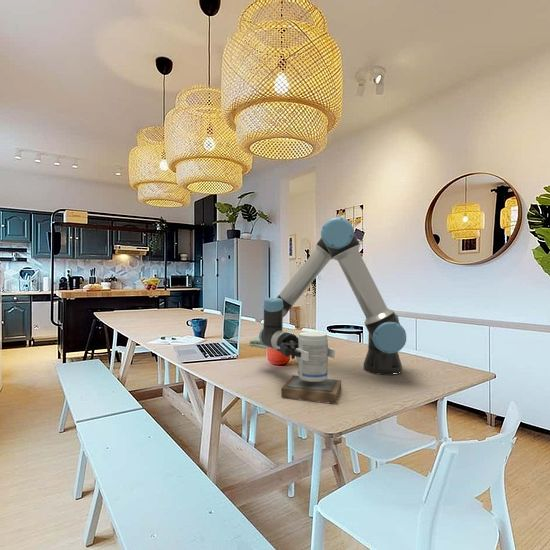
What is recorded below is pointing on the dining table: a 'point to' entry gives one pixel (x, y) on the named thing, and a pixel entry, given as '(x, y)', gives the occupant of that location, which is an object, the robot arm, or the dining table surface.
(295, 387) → the dock
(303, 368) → the supplement tub
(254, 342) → the towel
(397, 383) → the dining table surface
